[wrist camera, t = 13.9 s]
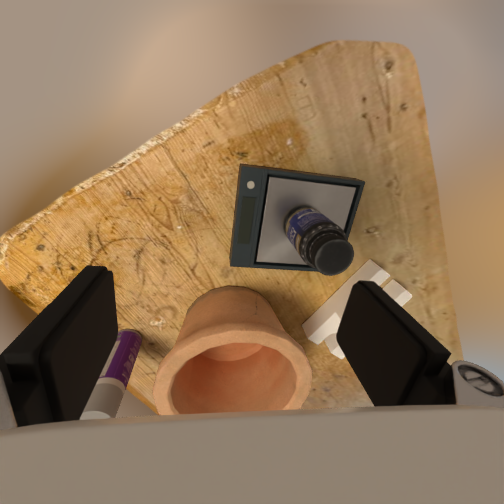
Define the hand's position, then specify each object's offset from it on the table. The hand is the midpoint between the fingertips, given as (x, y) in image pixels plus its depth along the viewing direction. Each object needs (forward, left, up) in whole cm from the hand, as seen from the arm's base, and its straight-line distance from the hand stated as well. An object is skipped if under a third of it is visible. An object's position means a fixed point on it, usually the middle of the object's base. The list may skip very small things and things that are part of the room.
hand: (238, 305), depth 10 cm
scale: (+5, +12, -30) cm, 33 cm away
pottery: (+26, +4, -31) cm, 40 cm away
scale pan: (+5, +13, -28) cm, 32 cm away
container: (+30, -14, -31) cm, 45 cm away
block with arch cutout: (+21, +27, -31) cm, 46 cm away
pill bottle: (+5, +13, -28) cm, 31 cm away
